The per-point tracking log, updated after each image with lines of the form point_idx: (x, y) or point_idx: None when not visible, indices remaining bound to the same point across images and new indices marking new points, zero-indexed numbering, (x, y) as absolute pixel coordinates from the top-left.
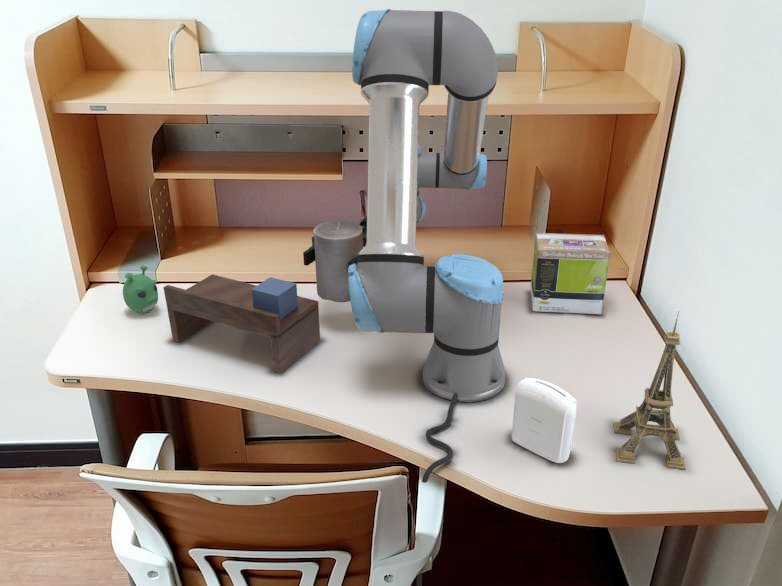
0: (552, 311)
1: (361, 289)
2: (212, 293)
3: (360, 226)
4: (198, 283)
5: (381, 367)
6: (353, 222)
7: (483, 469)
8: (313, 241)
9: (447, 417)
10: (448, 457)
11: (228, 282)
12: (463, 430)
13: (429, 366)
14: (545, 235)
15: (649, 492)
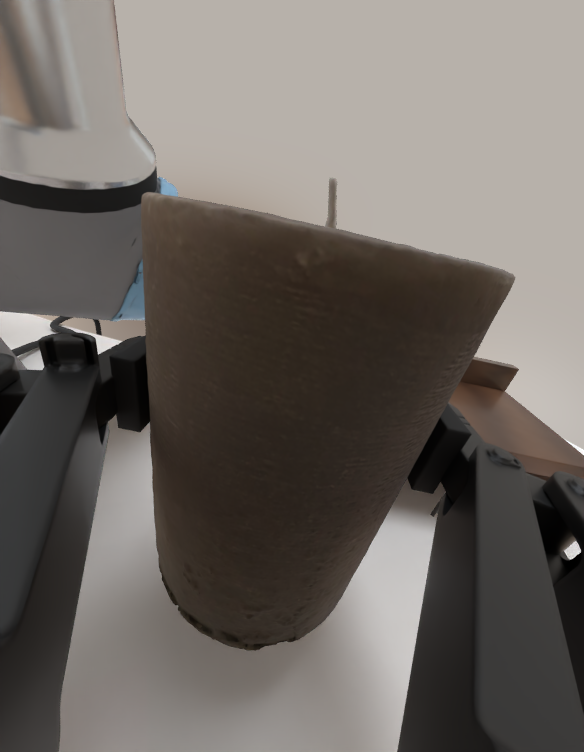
0: None
1: None
2: (484, 407)
3: (165, 195)
4: (552, 432)
5: (119, 428)
6: (282, 220)
7: (21, 319)
8: (544, 482)
9: (32, 344)
10: (60, 316)
11: (523, 443)
12: (14, 345)
13: (18, 362)
14: None
15: None
